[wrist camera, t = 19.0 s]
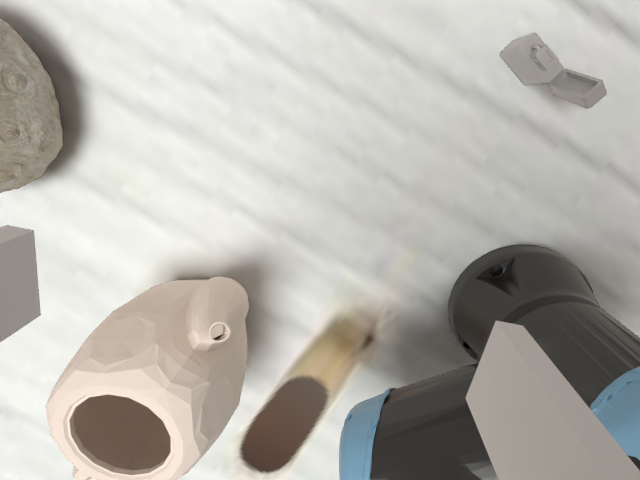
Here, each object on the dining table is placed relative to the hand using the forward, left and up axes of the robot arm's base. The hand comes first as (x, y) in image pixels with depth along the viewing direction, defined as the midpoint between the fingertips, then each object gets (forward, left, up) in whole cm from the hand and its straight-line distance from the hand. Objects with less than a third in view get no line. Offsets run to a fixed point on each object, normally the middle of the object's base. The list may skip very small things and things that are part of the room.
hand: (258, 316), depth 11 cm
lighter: (-18, -12, -32) cm, 39 cm away
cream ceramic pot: (+11, +21, -32) cm, 40 cm away
